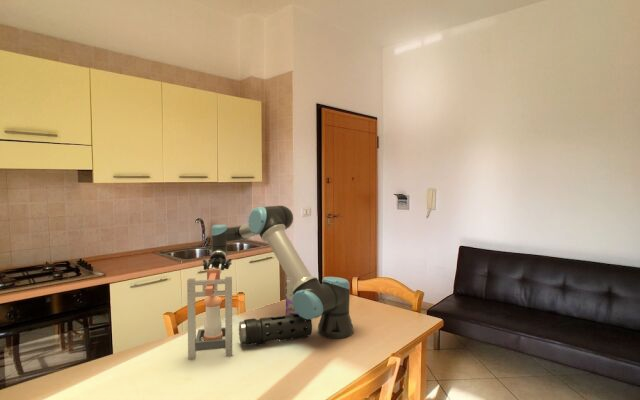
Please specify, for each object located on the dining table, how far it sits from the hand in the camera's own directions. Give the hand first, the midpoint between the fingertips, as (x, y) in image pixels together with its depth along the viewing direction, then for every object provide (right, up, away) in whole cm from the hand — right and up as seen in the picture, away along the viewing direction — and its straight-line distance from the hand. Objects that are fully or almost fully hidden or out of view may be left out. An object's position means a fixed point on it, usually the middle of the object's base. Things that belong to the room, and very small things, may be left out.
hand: (214, 270), depth 157 cm
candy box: (+36, -25, +20) cm, 48 cm away
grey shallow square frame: (+3, -26, -11) cm, 29 cm away
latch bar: (+4, -4, -18) cm, 19 cm away
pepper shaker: (+3, -26, -11) cm, 29 cm away
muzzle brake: (+27, -27, -10) cm, 40 cm away
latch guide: (+5, -27, -23) cm, 36 cm away
